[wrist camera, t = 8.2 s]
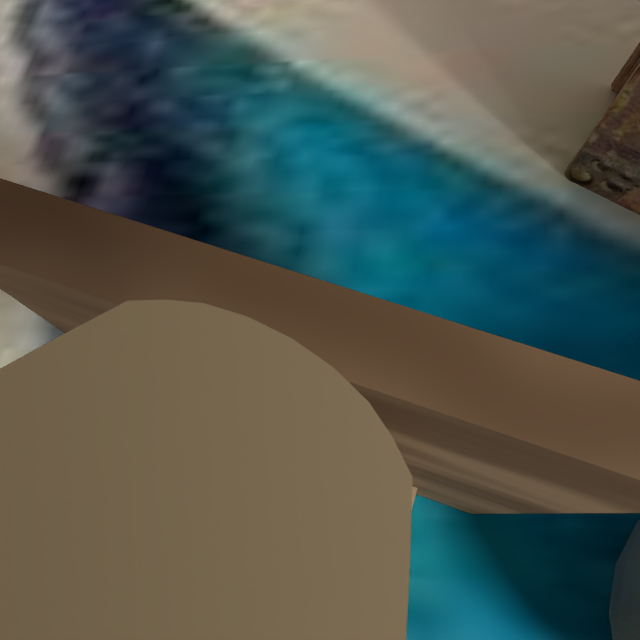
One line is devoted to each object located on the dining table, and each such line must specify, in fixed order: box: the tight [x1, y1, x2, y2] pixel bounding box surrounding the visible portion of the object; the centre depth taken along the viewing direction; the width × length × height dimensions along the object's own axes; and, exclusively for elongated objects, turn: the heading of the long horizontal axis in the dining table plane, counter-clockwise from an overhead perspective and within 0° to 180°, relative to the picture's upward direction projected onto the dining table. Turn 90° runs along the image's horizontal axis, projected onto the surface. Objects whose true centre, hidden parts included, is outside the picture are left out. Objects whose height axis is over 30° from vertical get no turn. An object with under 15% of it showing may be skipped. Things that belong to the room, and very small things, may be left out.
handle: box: [0, 300, 413, 640], centre depth 11 cm, size 5×6×15 cm
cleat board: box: [0, 179, 640, 514], centre depth 19 cm, size 13×18×20 cm
